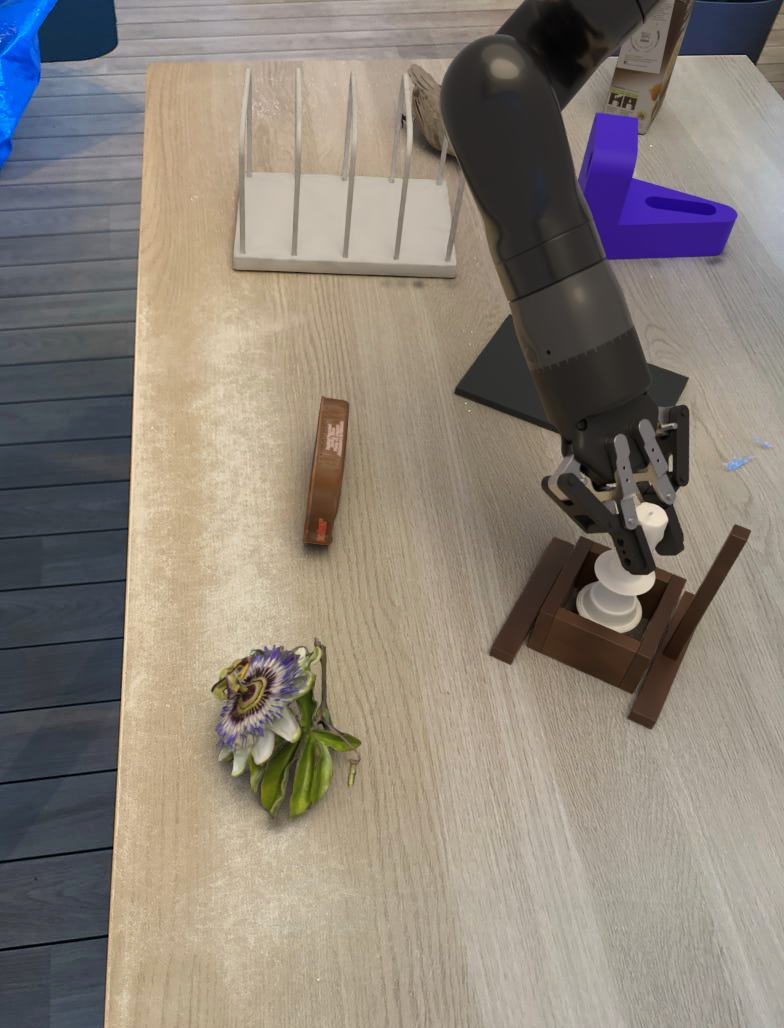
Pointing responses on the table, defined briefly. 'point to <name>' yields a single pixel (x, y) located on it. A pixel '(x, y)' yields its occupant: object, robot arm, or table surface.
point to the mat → (513, 391)
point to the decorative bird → (427, 107)
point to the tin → (326, 471)
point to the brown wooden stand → (601, 645)
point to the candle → (621, 580)
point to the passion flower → (280, 726)
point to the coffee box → (648, 64)
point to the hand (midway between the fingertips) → (657, 562)
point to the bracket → (644, 202)
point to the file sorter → (344, 209)
